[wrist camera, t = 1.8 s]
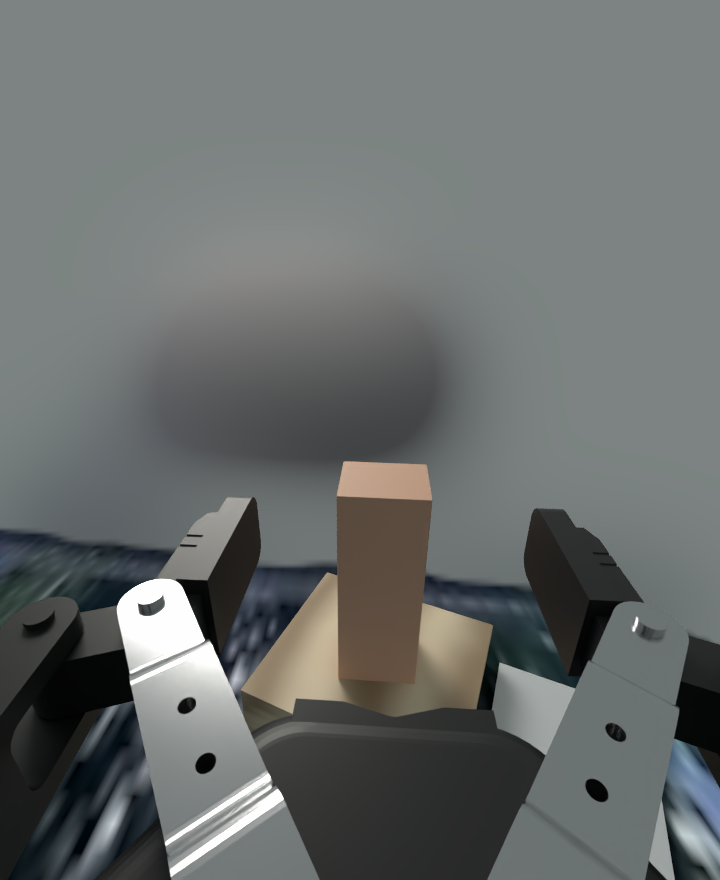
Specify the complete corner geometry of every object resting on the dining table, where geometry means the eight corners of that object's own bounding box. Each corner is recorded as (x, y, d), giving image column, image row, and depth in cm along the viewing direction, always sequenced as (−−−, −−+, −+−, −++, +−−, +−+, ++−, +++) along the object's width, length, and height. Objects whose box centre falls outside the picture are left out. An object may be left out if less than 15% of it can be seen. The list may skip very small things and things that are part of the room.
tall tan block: (338, 678, 29) (336, 496, 23) (344, 629, 33) (343, 461, 27) (414, 683, 29) (432, 500, 23) (411, 634, 32) (426, 464, 27)
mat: (453, 936, 21) (454, 931, 21) (498, 667, 35) (499, 662, 34) (702, 1081, 18) (707, 1077, 17) (645, 718, 31) (647, 714, 31)
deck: (246, 729, 30) (240, 689, 28) (328, 607, 40) (327, 572, 38) (451, 832, 25) (459, 791, 23) (485, 662, 35) (493, 625, 33)
